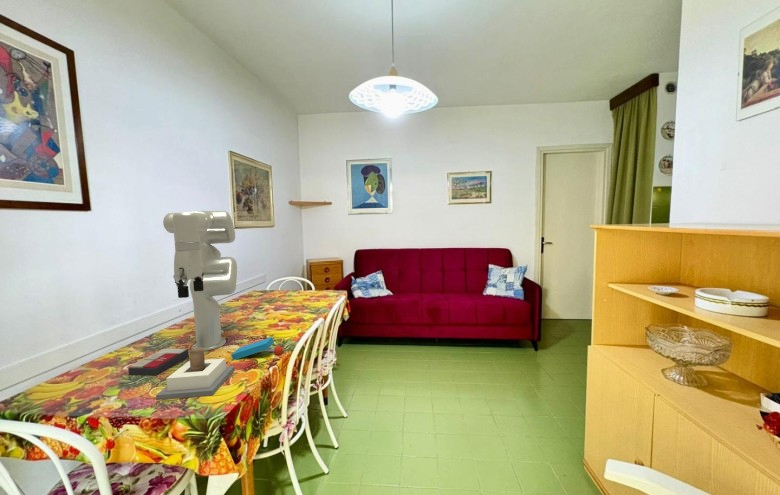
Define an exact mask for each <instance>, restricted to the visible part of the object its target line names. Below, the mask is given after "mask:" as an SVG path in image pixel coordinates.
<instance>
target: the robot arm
mask: <svg viewBox="0 0 780 495" xmlns="http://www.w3.org/2000/svg"><path fill="white" fill-rule="evenodd" d="M162 222H163V223H162V224H163V227H164V230H165V231H167V232H168V233H170V234H173V237H174V239H173V241H174V258H173V276H172V277H173V279H174V283H175V285H176V287H177V297H178V298H179V299H184V298H189V297H190V294H191V297H192V304H193V314H194V318H193V319H194V328H195V329H194V330H195V331H194V332H195V341H196V343H194V344H193V345H192V346H191V348H192V349H195V348H204V352H206V351H212V350H216V349H218V348H220V347H223V346H224V345H225V344H226V339H225V338H224V337H222V335H223V334H224V332H225V331H224V329H222V326H221V322H222V321H221V310H220V303H219V302H218V301H217V300H216V299H215V298H214V297H217V296H218V297H219V296H226V295H231V294H234V293H235V291H236V288H237V279H238V278H237V277H238V263H237V260H236V259H235V258H234V257H232V256H222V254H221V252H220V250H219V249H218V248H217V247H215V246H214V244H215V245H216V244H231V243H233V242H234V241H235V239H236V231H235V226H234V223H233V219H232V217H231V214H230V213H229V212H228V211H226V210H202V211H200V210H195V211H186V212H185V211H184V212H170V213H169V212H168V213H166V215H165V216H164V217H163V220H162ZM189 280H190V281H189ZM188 283H189V286H188ZM189 290H190V292H189ZM189 293H190V294H189ZM192 349H191V350H192Z"/></svg>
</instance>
